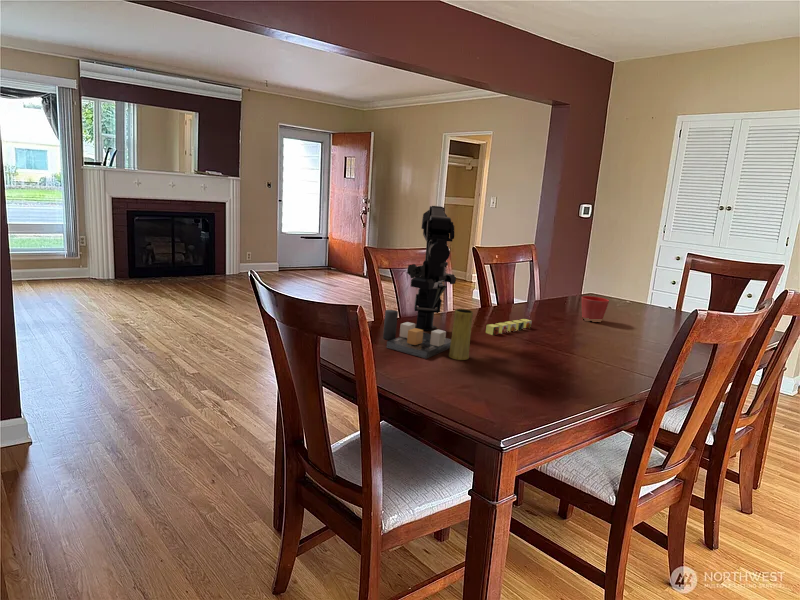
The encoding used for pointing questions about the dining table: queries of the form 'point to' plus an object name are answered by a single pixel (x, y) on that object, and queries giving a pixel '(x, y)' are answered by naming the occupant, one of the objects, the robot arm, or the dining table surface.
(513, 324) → the yellow picture block train
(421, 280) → the robot arm
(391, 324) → the cable post
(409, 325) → the toggle left
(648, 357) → the dining table surface
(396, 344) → the breaker panel
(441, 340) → the toggle right
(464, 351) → the vase
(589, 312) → the flower pot
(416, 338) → the toggle mid
